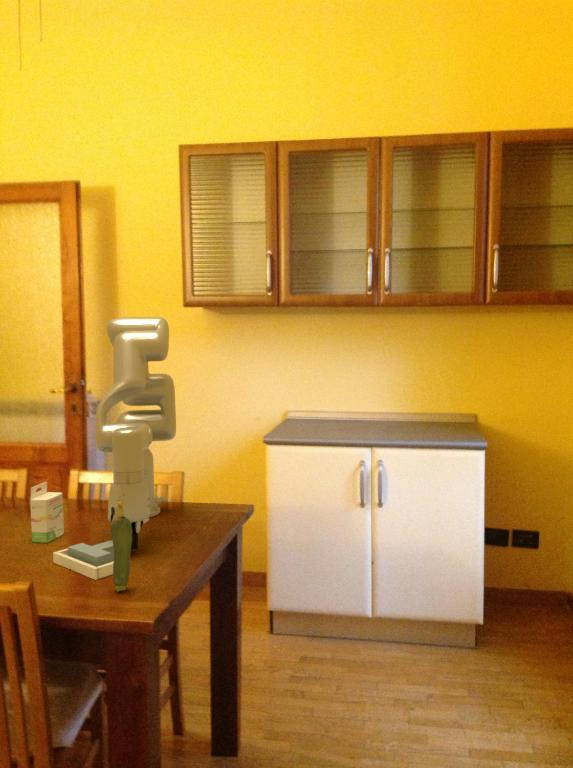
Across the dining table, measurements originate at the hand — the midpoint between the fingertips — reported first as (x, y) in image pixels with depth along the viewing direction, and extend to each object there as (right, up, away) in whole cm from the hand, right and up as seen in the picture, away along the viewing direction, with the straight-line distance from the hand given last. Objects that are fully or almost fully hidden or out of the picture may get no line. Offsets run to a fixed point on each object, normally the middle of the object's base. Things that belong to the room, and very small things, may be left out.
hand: (131, 548), depth 174 cm
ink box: (-26, -1, +13) cm, 29 cm away
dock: (-9, -2, -10) cm, 13 cm away
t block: (-5, -2, -6) cm, 8 cm away
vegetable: (+4, -4, -24) cm, 25 cm away
